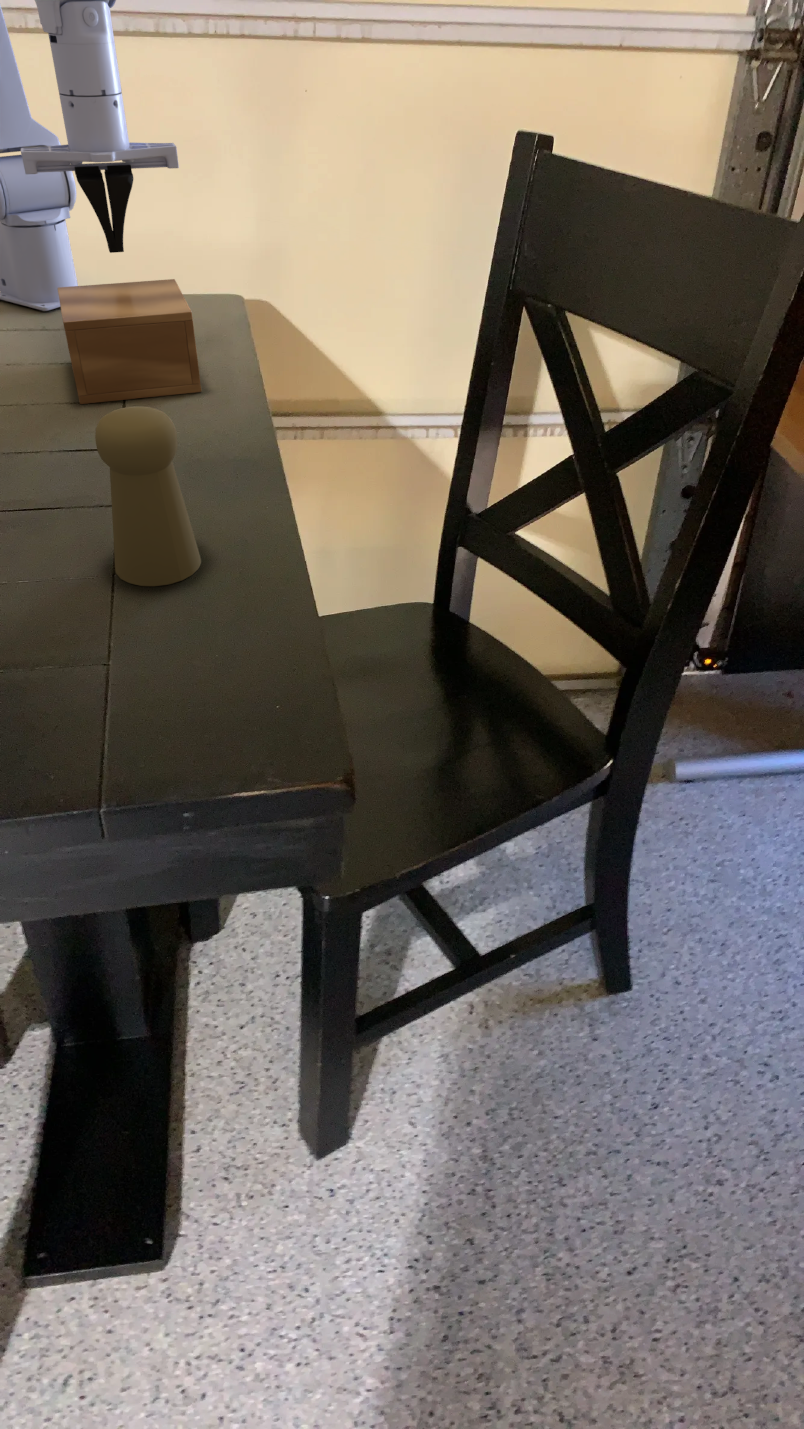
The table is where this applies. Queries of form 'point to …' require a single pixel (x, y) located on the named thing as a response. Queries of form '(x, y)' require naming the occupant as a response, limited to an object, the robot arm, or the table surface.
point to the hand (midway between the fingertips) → (116, 249)
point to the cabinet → (130, 340)
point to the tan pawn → (146, 498)
